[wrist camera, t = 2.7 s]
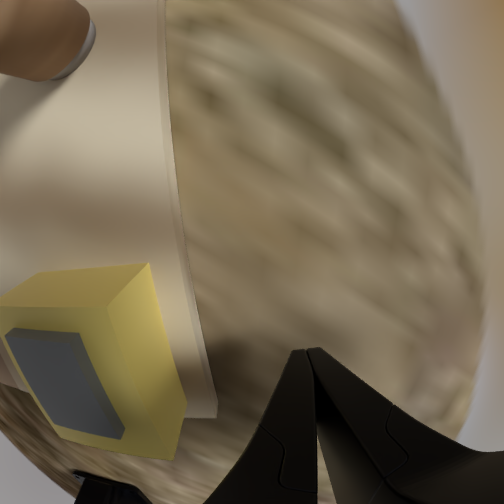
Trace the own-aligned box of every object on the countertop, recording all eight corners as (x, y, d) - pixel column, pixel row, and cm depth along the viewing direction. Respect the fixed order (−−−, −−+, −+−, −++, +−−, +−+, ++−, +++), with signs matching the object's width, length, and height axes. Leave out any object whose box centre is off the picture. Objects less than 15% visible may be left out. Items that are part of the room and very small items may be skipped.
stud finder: (187, 402, 10) (170, 471, 7) (87, 393, 10) (56, 446, 7) (148, 262, 9) (96, 317, 5) (38, 272, 9) (-22, 312, 5)
